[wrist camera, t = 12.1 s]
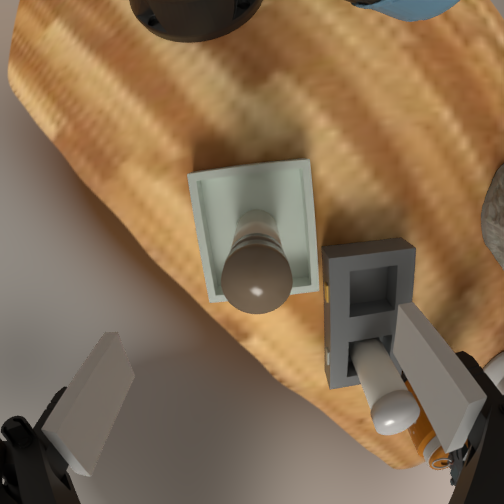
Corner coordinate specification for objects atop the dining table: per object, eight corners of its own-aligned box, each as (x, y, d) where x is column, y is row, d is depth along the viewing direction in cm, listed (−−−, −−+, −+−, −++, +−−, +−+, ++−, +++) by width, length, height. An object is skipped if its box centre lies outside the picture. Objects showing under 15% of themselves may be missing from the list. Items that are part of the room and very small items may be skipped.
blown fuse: (231, 210, 34) (215, 252, 21) (276, 205, 34) (289, 244, 21) (237, 252, 36) (226, 317, 22) (281, 247, 35) (295, 310, 22)
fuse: (345, 331, 38) (378, 409, 25) (381, 325, 38) (424, 397, 25) (344, 360, 40) (372, 439, 27) (378, 354, 40) (414, 428, 26)
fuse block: (319, 246, 36) (326, 258, 32) (401, 237, 35) (415, 247, 32) (323, 370, 42) (328, 389, 38) (391, 358, 41) (401, 375, 37)
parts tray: (192, 171, 33) (187, 174, 31) (305, 158, 33) (309, 159, 30) (213, 291, 38) (209, 302, 35) (314, 279, 37) (319, 291, 34)
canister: (392, 408, 45) (430, 504, 26) (388, 361, 41) (441, 469, 22) (439, 388, 44) (489, 474, 25) (441, 340, 40) (508, 432, 21)
